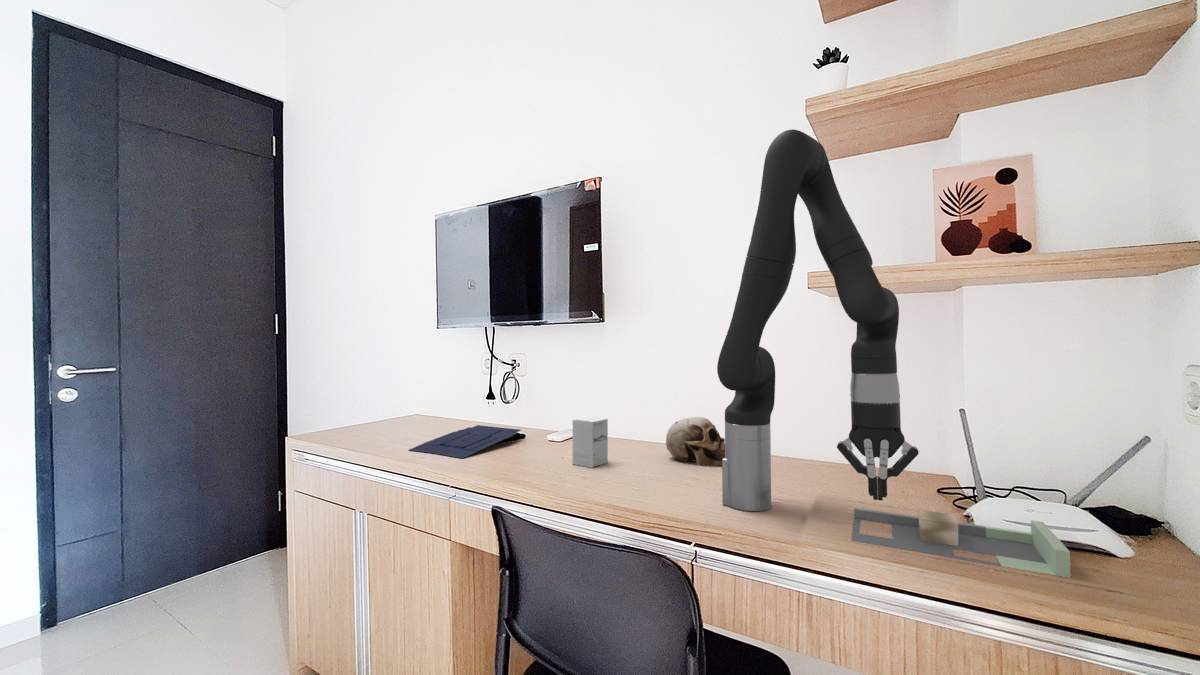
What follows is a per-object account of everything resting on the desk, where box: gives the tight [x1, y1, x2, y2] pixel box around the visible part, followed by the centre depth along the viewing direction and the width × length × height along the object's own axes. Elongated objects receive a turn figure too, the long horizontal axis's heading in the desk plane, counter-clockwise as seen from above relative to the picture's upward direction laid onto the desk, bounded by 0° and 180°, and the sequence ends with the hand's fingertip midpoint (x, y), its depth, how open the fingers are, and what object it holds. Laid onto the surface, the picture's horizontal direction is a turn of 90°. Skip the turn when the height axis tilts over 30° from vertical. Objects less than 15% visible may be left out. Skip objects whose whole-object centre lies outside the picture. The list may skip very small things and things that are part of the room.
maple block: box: [918, 509, 959, 546], centre depth 83 cm, size 5×5×4 cm
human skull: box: [665, 416, 725, 467], centre depth 144 cm, size 16×17×13 cm
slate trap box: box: [850, 507, 1071, 578], centre depth 81 cm, size 27×13×5 cm, turn 61°
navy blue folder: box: [408, 424, 521, 459], centre depth 166 cm, size 24×30×4 cm
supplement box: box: [572, 416, 609, 469], centre depth 141 cm, size 7×7×13 cm
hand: (878, 498), depth 87 cm, fingers closed
